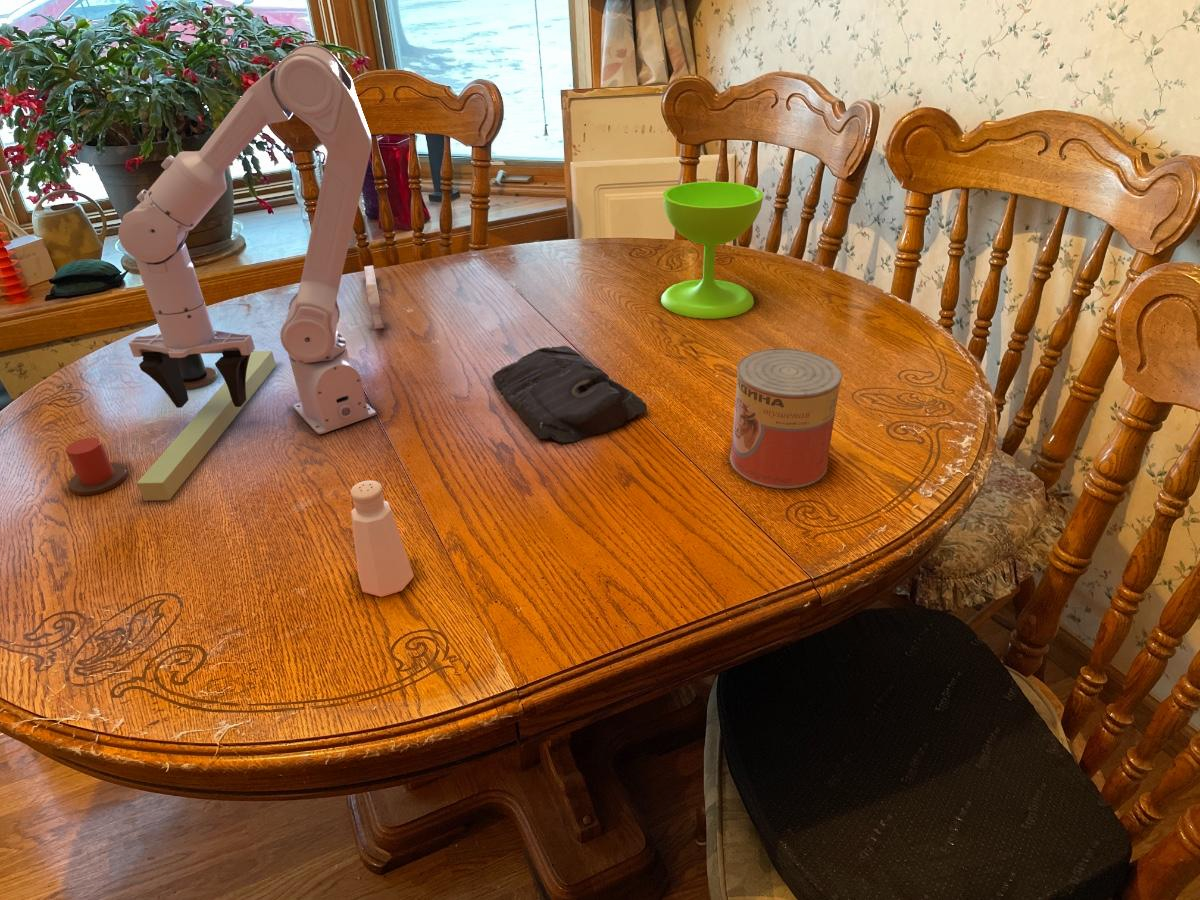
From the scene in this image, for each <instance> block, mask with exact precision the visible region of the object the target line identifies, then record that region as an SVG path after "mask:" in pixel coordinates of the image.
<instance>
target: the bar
mask: <svg viewBox="0 0 1200 900" xmlns="http://www.w3.org/2000/svg"><path fill="white" fill-rule="evenodd" d="M276 367H277V363H276V360H275V357H274V353H273V350H253V351H252V353H251V354H250V358H249V362H248V366H247V372H246V401H245V402H244V403H243V405H242V406H241V407H235V406H234V404H233V402H232V399H231V396H230V392H229V389H228V386H227V384H226V382H225V381H224V383H223V384H222V385H221V386H220V387H219V389H218V390H217V391H216V392H215V393H214V394H213V395H212V397H211V398H210V399H209V400H208V401H207V402H206V404H205V405H203V406H202V408H201V409H200V410H199V411H198V413H197V414H196V415H195V416H194V417H193V418H192V419H191V421H190V422H189V423H188V424H187V425H186V426H185V427H184V429H182V430H181V432H180V433H179V434H178V435H177V436H176V438H175V439H174V440H173V441H172V442H171V443H170V445H168V447H167V448H166V449H165V450H164V451H163V452H162V454H160V456H159V457H158V458H157V459H156V460H155V461H154V462H153V463H152V465H151V466H150V467H149V468H148V469H147V471H146V472H145V473H144V474H143V475H142V477H140V478H139V480H138V481H137V482H136V485H137V488H138V490H139V492H140V495H141V497H142V499H143V501H145V502H148V501H170V500H171V499H172V498H173V497H174V495H176V493H177V491H178V490H179V489H181V487H182V486H183V484H184V483H185V482H186V480H187V479H188V478H189V476H191V474H192V473H193V472H194V470H195V469H196V468H197V466H199V464H200V463H201V461H202V460H203V459H204V458H205V457H206V455H207V454H208V453H209V451H210V450H211V449H212V448H213V446H214V445H215V444H216V442H217V441H218V440H219V438H221V436H222V435H223V434H224V432H225V431H226V429H227V428H229V426H230V425H231V424H232V422H233V421H234V420H235V419H236V417H237V416H238V414H239V413H240V412H241V411H242V410H243V408H244V407H245V406H246V405H247V403H249V401H250V399H251V398H252V397H253V396H254V394H256V392H257V391H258V389H259V388H260V387H261V386H262V384H263V383H264V381H265V380H266V379H268V377H269V375H270V374H271V373H272V371H274V369H275V368H276Z"/></svg>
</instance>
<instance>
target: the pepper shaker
mask: <svg viewBox="0 0 1200 900" xmlns="http://www.w3.org/2000/svg"><path fill="white" fill-rule="evenodd" d="M349 493H350V497H351V498H352V502H353V506H354V508H352V509H351V511H350V515H351V516H350V517H351V518H350V519H351V526H352V534H353V542H354V551H355V559H356V565H357V566H356V567H357V575H358V580H359V584H360V588H361V592H362V593H365V594H369V595H372V596H376V597H378V598H379V597H380V598H383V597H386V596H389V595H392V594H396V593H399V592H402V591H403V590H404V589H405V588H406V586H408V584H409V583H410V582H411V581H412V580H413V579H414V576H415V575H414V571H413V569H412V566H411V563H410V560H409V557H408V554H407V551H406V548H405V546H404V543H403V540H402V537H401V534H400V531H399V528H398V525H397V522H396V520H395V517H394V513H393V511H392V508H391V505H390V503H389V501H387V500H384V494H383V485H382V484H381V483H380V482H379V481H376V480H370V479H369V480H362V481H360V482H358V483H356V484H354V485H353V486H352V487H351V489H350V492H349Z"/></svg>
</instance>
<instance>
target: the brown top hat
mask: <svg viewBox="0 0 1200 900" xmlns="http://www.w3.org/2000/svg"><path fill="white" fill-rule="evenodd" d="M178 360H179V366H180V371H181V376H182V379H183V382H184V385H185V387H186V390H187V391H189V390H196V389H200V388H203V387H205V386H208V385H210V384H212V383H214V381H215V380H217V378H218V373H217V371H216V369H215V368H212V367H209V366H206V365H205V362H204V359H203V356H202V354H189V355H187V356H186V357H182V358H178Z"/></svg>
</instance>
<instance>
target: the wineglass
mask: <svg viewBox="0 0 1200 900" xmlns="http://www.w3.org/2000/svg"><path fill="white" fill-rule="evenodd" d="M763 201H764V193H763V191H761V190H760V189H759V188H757V187H754V186H751V185H747V184H744V183H738V182H737V183H736V182H731V181H694V182H693V181H692V182H688V183H680V184H678V185H677V184H676V185H673V186H671V187H668V188H667V189H665V190H664V191H662V202H663V209H664V213H665V214H666V217H667V219H668V221H669V223H670V224H671V225H672V227H673V228H674V230H676V232H677V233H678V234H679V235H681V236H682V237H684V238H685V239H686V240H688V241H689V242H691V243H695V244H697V245H698V244H699V245H702V246H703V264H702V279H691V280H685V281H681V282H678V283H675V284H673V285H671V286H670V287H668V288H666V289H665V290H664V292H663V293H662V295H661V297H660V303H661V304H662V306H663V307H664V308H665V309H666V310H668V311H669V312H672V313H674V314H676V315H679V316H683V317H687V318H695V319H703V320H704V319H705V320H706V319H708V320H715V319H716V320H717V319H726V318H731V317H732V318H733V317H737V316H739V315H741V314H744V313H747V312H748V311H749V310H751V309H752V308H753V306H754V304H755V300H754V296H753V294H752V293H751V292H750V291H749V290H748V289H747V288H746V287H744V286H742V285H739V284H737V283H733V282H731V281H727V280H721V279H715V270H716V269H715V268H716V267H715V266H716V250H717V249H716V248H717V246H720V245H724V244H728V243H731V242H732V241H734V240H737V238H739V237H741V236H742V235H744V234H745V233H746V232H747V231H748V230H749V229H750V228H751V226H752V225H753V224H754V223H755V221H756V219H757V218H758V215H759V213H760V212H761V209H762V205H763Z"/></svg>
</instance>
